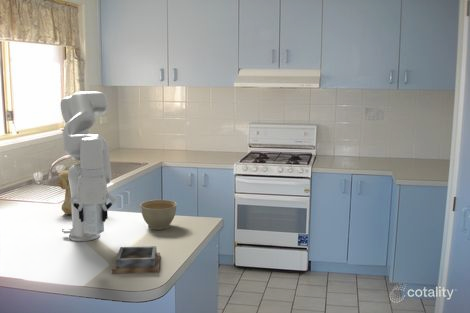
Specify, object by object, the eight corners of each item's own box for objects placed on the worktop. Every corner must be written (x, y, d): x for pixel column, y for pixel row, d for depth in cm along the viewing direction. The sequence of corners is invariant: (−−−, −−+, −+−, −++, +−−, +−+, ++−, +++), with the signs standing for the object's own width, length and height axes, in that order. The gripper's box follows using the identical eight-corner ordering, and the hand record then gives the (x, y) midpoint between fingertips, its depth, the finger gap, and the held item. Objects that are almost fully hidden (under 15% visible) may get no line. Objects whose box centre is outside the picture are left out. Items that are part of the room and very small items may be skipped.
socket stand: (112, 273, 178) (111, 261, 177) (117, 257, 194) (117, 246, 193) (158, 272, 179) (158, 260, 179) (160, 256, 195) (159, 244, 194)
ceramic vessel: (63, 208, 263) (61, 160, 259) (101, 207, 265) (100, 160, 261) (54, 217, 246) (51, 166, 242) (95, 216, 248) (93, 166, 244)
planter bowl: (133, 229, 229) (133, 205, 227) (155, 220, 243) (154, 198, 241) (163, 234, 222) (162, 210, 220) (183, 225, 236) (183, 202, 234)
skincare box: (104, 231, 185) (103, 199, 182) (97, 235, 181) (96, 202, 178) (90, 229, 187) (89, 197, 184) (83, 232, 183) (81, 200, 180)
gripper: (64, 174, 175) (66, 224, 178) (115, 174, 177) (116, 223, 180) (68, 170, 182) (70, 217, 186) (118, 170, 184) (119, 217, 187)
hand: (93, 220), depth 183 cm, fingers closed on skincare box, 7 cm apart
